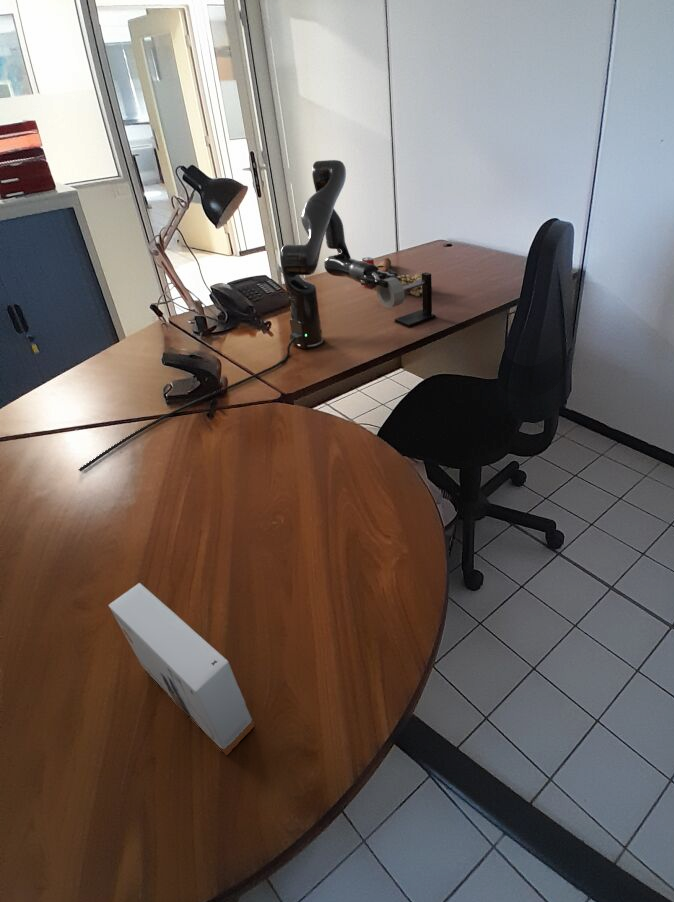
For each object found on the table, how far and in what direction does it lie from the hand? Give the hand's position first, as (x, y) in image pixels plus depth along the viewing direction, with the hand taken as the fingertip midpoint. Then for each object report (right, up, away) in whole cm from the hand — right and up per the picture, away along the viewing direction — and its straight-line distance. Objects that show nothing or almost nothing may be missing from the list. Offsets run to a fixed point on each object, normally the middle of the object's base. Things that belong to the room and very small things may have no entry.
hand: (393, 283), depth 186 cm
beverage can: (-12, +10, +51) cm, 53 cm away
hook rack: (+8, -10, +16) cm, 20 cm away
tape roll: (-1, -7, +6) cm, 9 cm away
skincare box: (-27, -86, -106) cm, 139 cm away
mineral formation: (+6, +6, +42) cm, 43 cm away
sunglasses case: (-7, +22, +69) cm, 73 cm away
